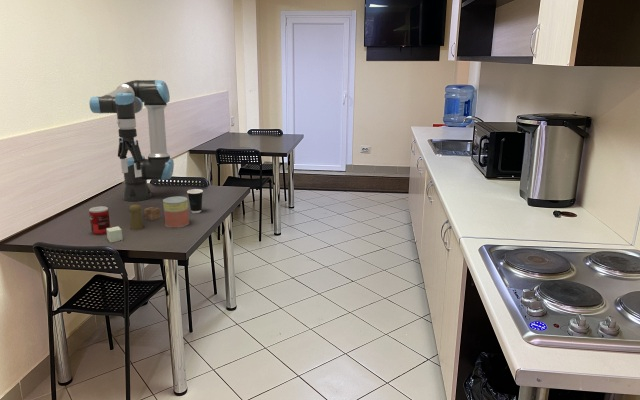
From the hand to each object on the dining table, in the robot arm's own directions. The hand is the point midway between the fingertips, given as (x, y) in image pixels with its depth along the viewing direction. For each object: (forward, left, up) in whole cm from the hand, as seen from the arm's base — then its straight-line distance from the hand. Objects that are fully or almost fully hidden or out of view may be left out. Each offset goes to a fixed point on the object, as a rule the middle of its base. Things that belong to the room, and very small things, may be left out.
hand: (131, 174), depth 219 cm
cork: (+4, -2, -24) cm, 25 cm away
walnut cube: (-4, +10, -24) cm, 27 cm away
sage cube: (+12, -16, -24) cm, 32 cm away
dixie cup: (+2, +31, -24) cm, 40 cm away
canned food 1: (-2, -16, -24) cm, 29 cm away
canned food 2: (+12, +14, -24) cm, 31 cm away
